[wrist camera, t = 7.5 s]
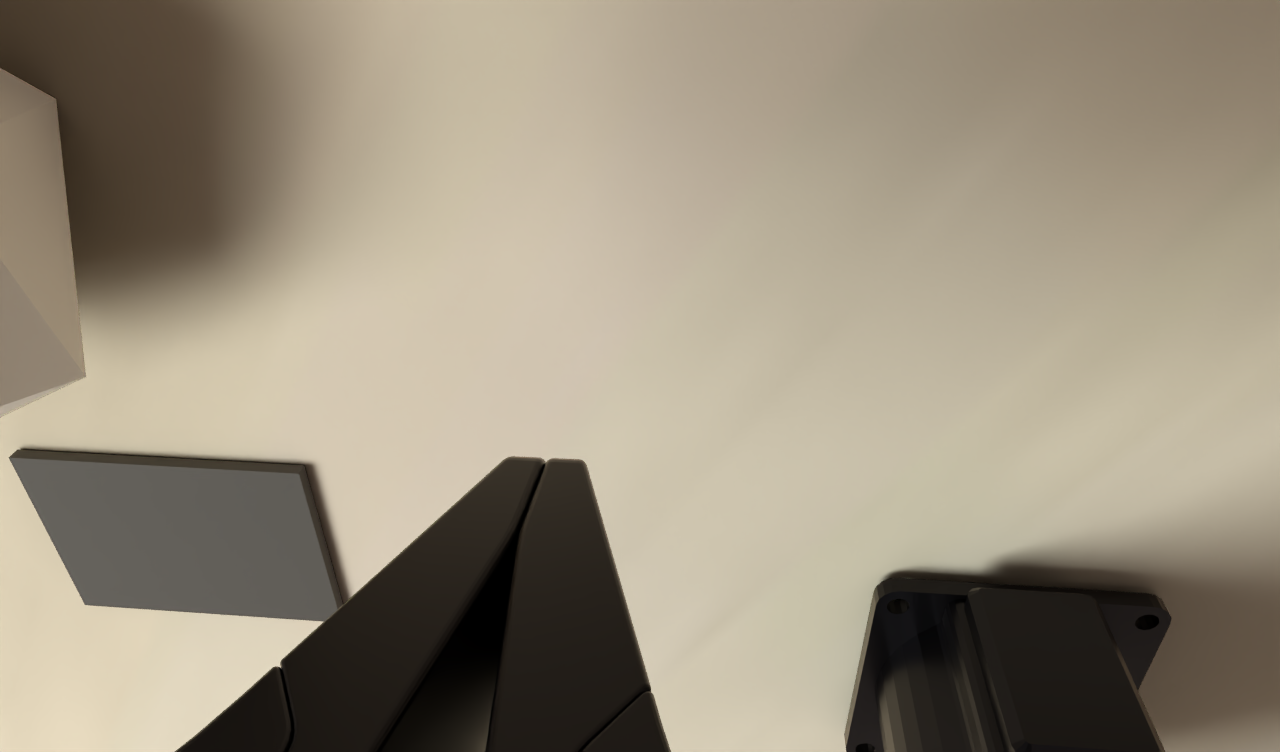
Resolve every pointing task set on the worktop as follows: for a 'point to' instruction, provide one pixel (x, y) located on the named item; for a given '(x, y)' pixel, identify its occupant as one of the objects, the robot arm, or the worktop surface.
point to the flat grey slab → (184, 533)
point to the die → (34, 252)
